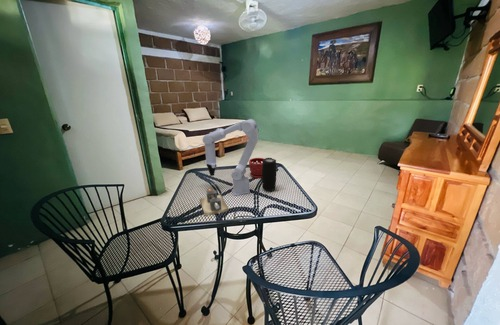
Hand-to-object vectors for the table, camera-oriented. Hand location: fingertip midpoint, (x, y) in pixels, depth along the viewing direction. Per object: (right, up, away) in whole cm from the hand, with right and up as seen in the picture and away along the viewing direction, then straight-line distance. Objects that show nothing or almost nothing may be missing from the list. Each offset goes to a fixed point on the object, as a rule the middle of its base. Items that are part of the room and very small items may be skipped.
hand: (212, 175), depth 124 cm
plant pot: (+29, -2, +23) cm, 37 cm away
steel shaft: (+4, -13, -18) cm, 22 cm away
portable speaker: (+35, -9, +2) cm, 36 cm away
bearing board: (+4, -15, -16) cm, 22 cm away
